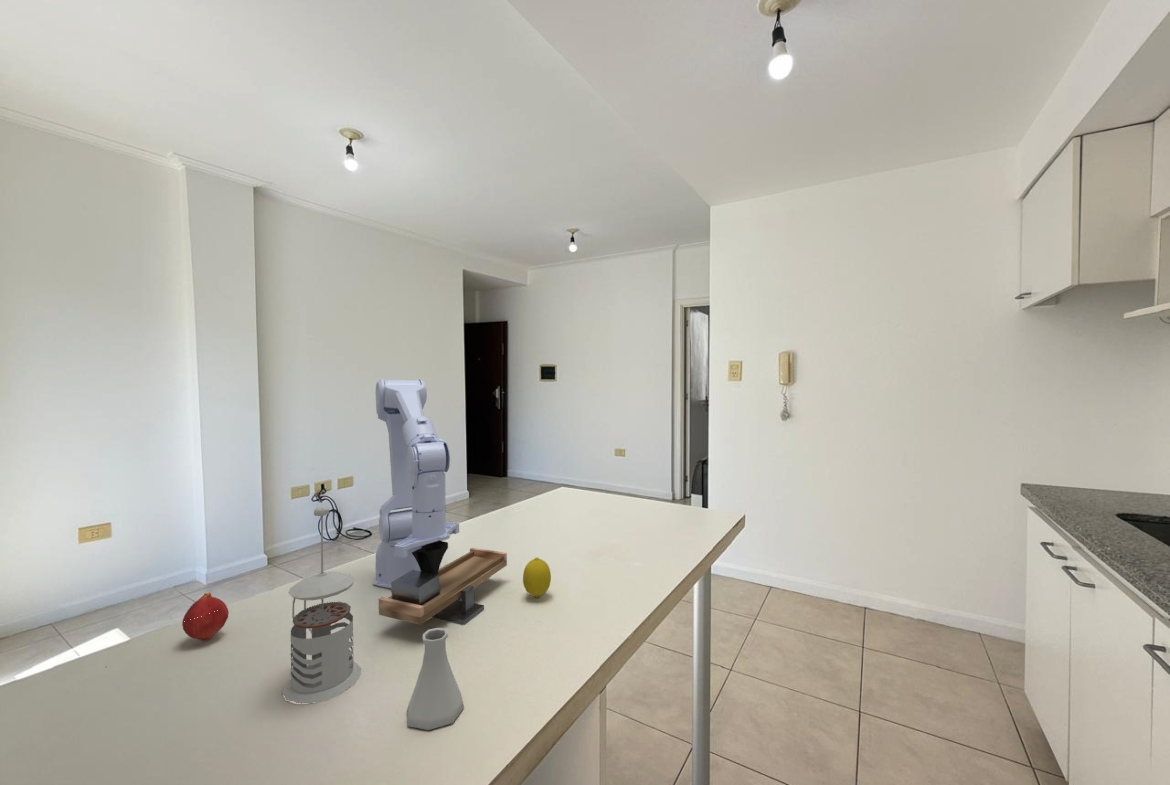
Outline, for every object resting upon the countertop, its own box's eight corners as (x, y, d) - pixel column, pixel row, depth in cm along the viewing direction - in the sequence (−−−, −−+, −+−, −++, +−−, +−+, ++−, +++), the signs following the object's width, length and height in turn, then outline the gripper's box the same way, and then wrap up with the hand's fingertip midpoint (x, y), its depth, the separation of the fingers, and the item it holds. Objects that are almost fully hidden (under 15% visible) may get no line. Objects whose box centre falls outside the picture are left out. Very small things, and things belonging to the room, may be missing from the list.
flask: (414, 694, 61) (414, 621, 61) (468, 690, 62) (468, 618, 62) (397, 734, 54) (396, 651, 54) (458, 730, 55) (458, 648, 55)
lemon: (546, 605, 87) (546, 563, 87) (519, 602, 88) (518, 561, 88) (554, 592, 92) (553, 553, 92) (528, 590, 93) (528, 551, 93)
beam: (377, 617, 77) (377, 598, 77) (471, 562, 101) (471, 547, 101) (421, 628, 73) (421, 608, 73) (507, 568, 97) (507, 553, 97)
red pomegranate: (177, 654, 71) (177, 603, 71) (189, 636, 76) (188, 589, 76) (223, 644, 74) (223, 595, 74) (232, 627, 79) (231, 582, 79)
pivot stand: (403, 610, 85) (402, 584, 85) (425, 597, 90) (425, 572, 90) (464, 624, 80) (463, 596, 80) (484, 609, 85) (483, 583, 85)
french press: (304, 714, 58) (302, 519, 57) (262, 684, 64) (260, 507, 64) (375, 673, 66) (374, 503, 66) (332, 649, 72) (330, 493, 72)
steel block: (392, 605, 77) (391, 582, 77) (413, 591, 82) (412, 569, 82) (419, 611, 75) (418, 587, 75) (440, 596, 80) (439, 574, 79)
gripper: (417, 522, 73) (418, 605, 73) (471, 501, 87) (472, 571, 87) (384, 517, 76) (385, 598, 76) (442, 498, 89) (442, 566, 89)
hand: (429, 583), depth 81 cm, fingers closed
